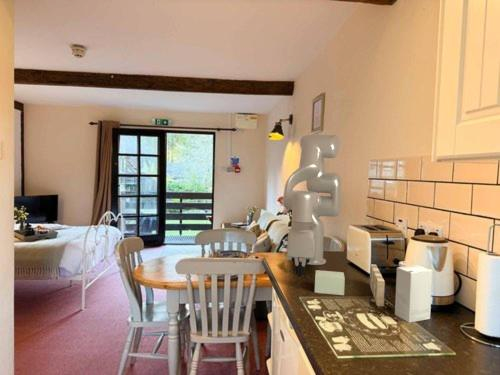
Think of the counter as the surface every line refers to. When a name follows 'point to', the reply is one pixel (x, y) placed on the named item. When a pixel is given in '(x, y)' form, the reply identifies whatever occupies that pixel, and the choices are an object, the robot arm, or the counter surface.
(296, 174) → the robot arm
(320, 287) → the sage block
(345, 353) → the counter surface
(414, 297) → the skincare box
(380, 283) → the birch board
